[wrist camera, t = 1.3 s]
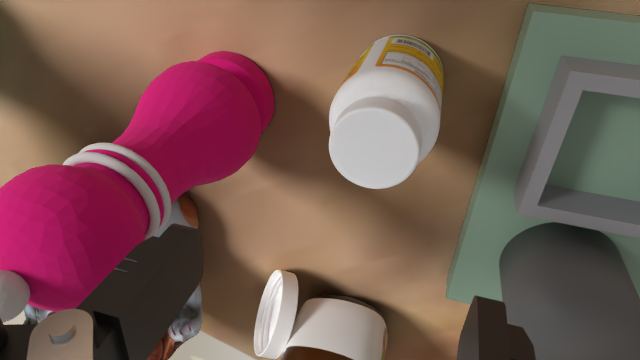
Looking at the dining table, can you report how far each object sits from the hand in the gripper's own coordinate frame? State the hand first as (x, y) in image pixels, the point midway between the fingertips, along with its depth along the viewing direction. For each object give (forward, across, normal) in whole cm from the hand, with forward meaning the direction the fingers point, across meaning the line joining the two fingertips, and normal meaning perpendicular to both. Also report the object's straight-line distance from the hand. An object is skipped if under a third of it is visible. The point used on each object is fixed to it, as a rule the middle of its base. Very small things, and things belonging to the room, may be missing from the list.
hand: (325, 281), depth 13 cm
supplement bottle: (+18, 0, 0) cm, 18 cm away
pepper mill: (+18, +11, +3) cm, 21 cm away
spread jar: (+18, +3, +22) cm, 29 cm away
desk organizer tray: (+18, -12, +5) cm, 22 cm away
